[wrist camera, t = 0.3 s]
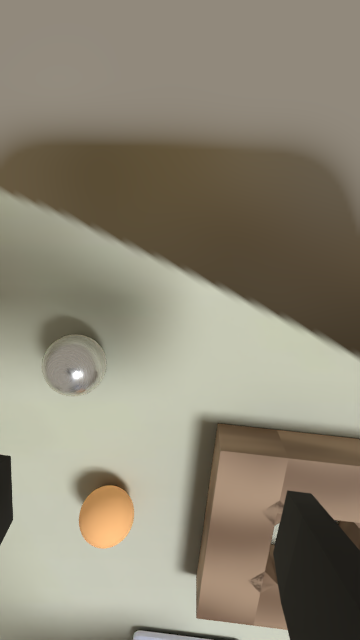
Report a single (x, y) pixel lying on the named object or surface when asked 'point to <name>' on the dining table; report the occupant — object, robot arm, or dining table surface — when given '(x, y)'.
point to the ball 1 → (74, 365)
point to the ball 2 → (106, 516)
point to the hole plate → (265, 514)
